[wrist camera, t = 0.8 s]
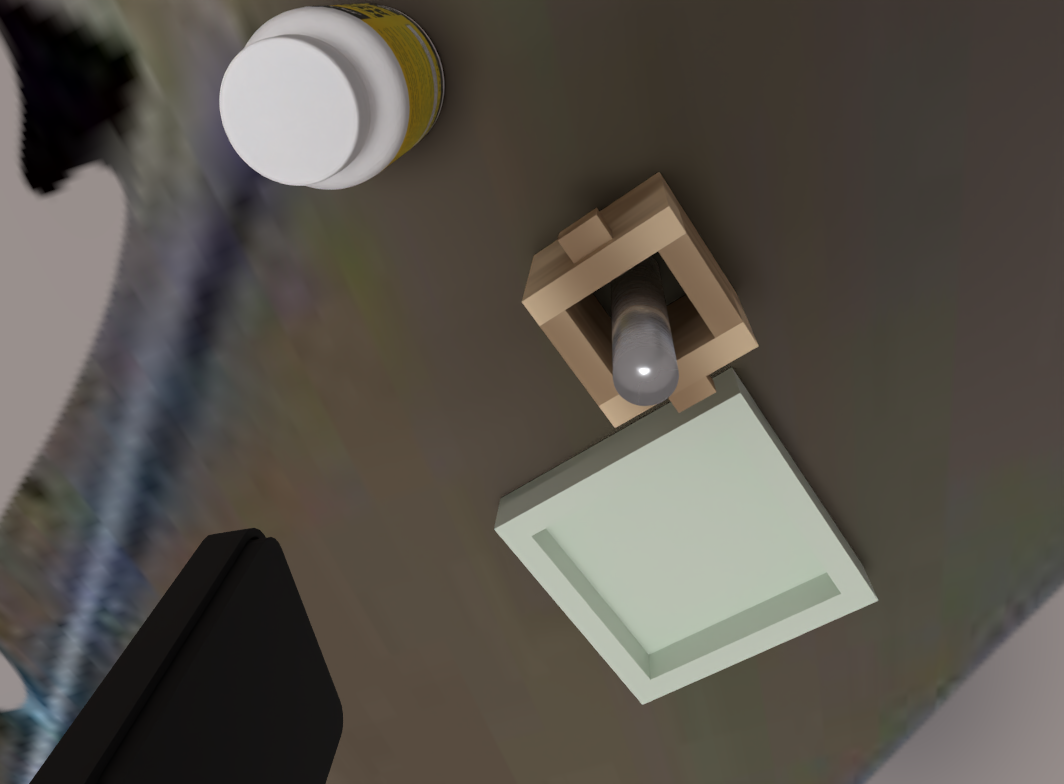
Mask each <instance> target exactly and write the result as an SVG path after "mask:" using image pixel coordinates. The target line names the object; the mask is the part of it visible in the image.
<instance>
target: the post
mask: <svg viewBox="0 0 1064 784" xmlns="http://www.w3.org/2000/svg"><path fill="white" fill-rule="evenodd" d="M611 311H612V363H613V383H614V386H615V389H616V390H617V392H618V394H619V395H620V396H621V397H622V398H623V399H625V400H626V401H628V402H630V403H632V404H635V405H639V406H651V405H656V404H658V403H661V402H663V401H664V400H666V399H667V398H668V397H670V396H671V394H672V393H673V392H674V391H675V389H676V387H677V384H678V380H679V371H678V365H677V360H676V355H675V349H674V344H673V339H672V334H671V328H670V323H669V318H668V312H667V307H666V302H665V297H664V291H663V286H662V281H661V275H660V270H659V266H658V264H657V262H656V261H655V259H654V258H653V257H652V256H650V257H648V258H646V259H645V260H643V261H642V262H640V263H638V264H637V265H635V266H634V267H632V268H631V269H629V270H627V271H626V272H624V273H623V274H621V275H620V276H618V277H616V278H615V279H613V280H612V281H611Z"/></svg>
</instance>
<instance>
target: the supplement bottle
mask: <svg viewBox="0 0 1064 784" xmlns="http://www.w3.org/2000/svg"><path fill="white" fill-rule="evenodd" d="M443 97H444V74H443V68H442V64H441V61H440V58H439V55H438V53H437V51H436V49H435V47H434V45H433V43H432V41H431V40H430V38H429V37H428V35H427V34H426V33H425V32H424V30H423V29H422V28H421V27H420V26H419V25H418V24H417V23H416V22H415V21H414V20H412V19H411V18H410V17H408V16H407V15H405V14H403V13H402V12H400V11H398V10H395V9H393V8H390V7H387V6H383V5H378V4H371V3H358V4H346V5H330V6H306V7H303V8H297V9H293V10H289V11H286V12H283V13H281V14H279V15H277V16H275V17H273V18H272V19H270V20H268V21H267V22H266V23H265V24H263V25H262V26H261V27H260V28H259V29H258V30H257V31H256V32H255V33H254V34H253V36H252V37H251V38H250V40H249V41H248V43H247V44H246V46H245V48H244V49H243V50H242V51H241V52H240V53H239V54H238V55H237V56H236V57H235V58H234V59H233V60H232V62H231V63H230V65H229V67H228V68H227V70H226V72H225V74H224V77H223V80H222V84H221V89H220V100H219V104H220V113H221V119H222V124H223V126H224V129H225V132H226V134H227V136H228V138H229V141H230V143H231V144H232V146H233V148H234V149H235V150H236V152H237V153H238V155H239V156H240V157H241V158H242V159H243V160H244V161H245V162H246V163H247V164H248V165H249V166H250V167H252V168H253V169H254V170H255V171H257V172H258V173H260V174H261V175H263V176H264V177H266V178H269V179H271V180H273V181H276V182H279V183H282V184H287V185H295V186H304V185H305V186H308V187H312V188H317V189H329V190H333V189H344V188H348V187H352V186H355V185H358V184H361V183H363V182H365V181H367V180H369V179H370V178H372V177H374V176H375V175H377V174H378V173H380V172H381V171H383V170H384V169H385V168H386V167H387V166H389V165H390V164H391V163H393V162H394V161H395V160H397V159H398V158H399V157H400V156H402V155H403V154H404V153H406V152H407V151H408V150H410V149H411V148H412V147H413V146H415V145H416V144H417V143H418V142H420V141H421V140H422V139H423V138H424V137H425V136H426V134H427V133H428V132H429V131H430V129H431V128H432V127H433V125H434V123H435V122H436V120H437V118H438V116H439V113H440V110H441V107H442V103H443Z"/></svg>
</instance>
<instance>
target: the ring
mask: <svg viewBox="0 0 1064 784" xmlns="http://www.w3.org/2000/svg"><path fill="white" fill-rule="evenodd" d="M657 251H658V252H659V253H660V255H661V256H662V258H663V259H664V261H665V262H666V264H667V265H668V267H669V268H670V270H671V271H672V273H673V275H674V276H675V278H676V279H677V281H678V282H679V284H680V285H681V287H682V288H683V290H684V291H685V293H686V295H684V296H683V297H681V298H680V299H678V300H676V301H675V302H673V303H671V304H670V305H668V306H666V307H667V312H668V318H669V323H670V328H671V334H672V339H673V344H674V349H675V355H676V360H677V365H678V371H679V380H678V384H677V387H676V389H675V391H674V392H673V393H672V394H671V396H670V397H668V398H669V400H670V401H671V403H672V404H673V406H674V407H675V408H676V410H677V411H678V413H680V412H682V411H684V410H686V409H687V408H689V407H691V406H693V405H694V404H696V403H698V402H700V401H702V400H703V399H705V398H707V397H709V396H711V395H712V394H714V393H716V389H715V385H714V381H713V379H712V378H711V376H710V375H709V374H711V373H713V372H714V371H716V370H718V369H720V368H721V367H723V366H725V365H727V364H728V363H730V362H732V361H734V360H735V359H737V358H739V357H741V356H742V355H744V354H746V353H748V352H749V351H751V350H753V349H755V348H756V347H758V346H759V345H758V343H757V341H756V338H755V336H754V334H753V331H752V329H751V327H750V324H749V322H748V319H747V317H746V315H745V312H744V310H743V308H742V305H741V303H740V301H739V298H738V296H737V293H736V292H735V290H734V289H733V287H732V286H731V284H730V282H729V281H728V279H727V278H726V276H725V274H724V273H723V271H722V270H721V268H720V267H719V265H718V263H717V262H716V260H715V259H714V257H713V256H712V254H711V252H710V251H709V249H708V248H707V246H706V245H705V243H704V241H703V240H702V238H701V237H700V235H699V234H698V232H697V230H696V229H695V227H694V226H693V224H692V222H691V221H690V219H689V218H688V216H687V215H686V213H685V211H684V210H683V208H682V207H681V205H680V204H679V202H678V200H677V199H676V197H675V196H674V194H673V193H672V191H671V189H670V188H669V186H668V185H667V183H666V182H665V180H664V178H663V177H662V175H661V174H660V172H658V173H656V174H655V175H653V176H652V177H650V178H649V179H647V180H646V181H644V182H643V183H641V184H640V185H638V186H637V187H635V188H634V189H632V190H631V191H629V192H628V193H626V194H625V195H624V196H622V197H621V198H619V199H618V200H616V201H615V202H613V203H612V204H610V205H609V206H607V207H606V208H604V209H603V210H601V211H600V212H599V210H598V209H597V208H595V209H594V210H592V211H591V212H589V213H588V214H586V215H585V216H583V217H582V218H580V219H579V220H577V221H576V222H575V223H573V224H572V225H570V226H569V227H567V228H566V229H564V230H563V231H561V232H560V233H559V236H558V240H556V241H555V242H553V243H552V244H550V245H549V246H547V247H546V248H544V249H543V250H541V251H540V252H538V253H537V254H535V255H534V257H533V261H532V264H531V268H530V272H529V276H528V280H527V283H526V287H525V291H524V295H523V299H522V303H523V304H524V306H525V307H526V308H527V310H528V311H529V312H530V314H531V315H532V317H533V318H534V319H535V321H536V322H537V323H538V325H539V326H540V327H541V329H542V330H543V331H544V333H545V334H546V335H547V337H548V338H549V340H550V341H551V342H552V344H553V345H554V346H555V348H556V349H557V350H558V352H559V353H560V354H561V356H562V357H563V358H564V360H565V361H566V362H567V364H568V365H569V367H570V368H571V369H572V371H573V372H574V373H575V375H576V376H577V377H578V379H579V380H580V381H581V383H582V384H583V385H584V387H585V388H586V389H587V391H588V392H589V394H590V395H591V396H592V398H593V399H594V400H595V402H596V403H597V404H598V406H599V407H600V408H601V410H602V411H603V412H604V414H605V415H606V417H607V418H608V419H609V421H610V422H611V423H612V425H613V426H614V427H615V428H616V427H618V426H619V425H621V424H623V423H625V422H626V421H628V420H630V419H632V418H634V417H635V416H637V415H639V414H641V413H642V412H644V411H646V410H648V409H649V408H651V407H653V406H655V405H651V406H639V405H635V404H632V403H630V402H628V401H626V400H625V399H623V398H622V397H621V396H620V395H619V394H618V392H617V390H616V389H615V386H614V383H613V363H612V320H611V319H610V317H609V316H608V314H607V313H606V312H605V310H604V309H603V307H602V306H601V304H600V303H599V302H598V300H597V299H596V297H595V296H594V294H593V292H594V291H596V290H598V289H599V288H601V287H602V286H604V285H605V284H607V283H609V282H610V281H612V280H613V279H615V278H616V277H618V276H620V275H621V274H623V273H624V272H626V271H627V270H629V269H631V268H632V267H634V266H635V265H637V264H638V263H640V262H642V261H643V260H645V259H646V258H648V257H650V256H651V255H653V254H654V253H656V252H657Z"/></svg>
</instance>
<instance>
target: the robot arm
mask: <svg viewBox="0 0 1064 784" xmlns="http://www.w3.org/2000/svg"><path fill="white" fill-rule="evenodd" d="M342 728H343V712H342V706H341V702H340V699H339V697H338V694H337V691H336V689H335V686H334V684H333V681H332V678H331V676H330V673H329V671H328V668H327V665H326V663H325V660H324V658H323V655H322V652H321V650H320V647H319V645H318V642H317V639H316V637H315V634H314V632H313V629H312V626H311V624H310V621H309V619H308V616H307V613H306V611H305V608H304V606H303V603H302V600H301V598H300V595H299V593H298V590H297V587H296V585H295V582H294V579H293V577H292V574H291V572H290V569H289V566H288V564H287V561H286V559H285V556H284V553H283V551H282V548H281V546H280V544H279V542H278V541H277V540H276V539H275V538H272V537H269V538H266V537H265V535H264V534H263V533H262V532H261V531H260V530H258V529H256V528H250V529H244V530H237V531H231V532H224V533H218V534H212V535H208V536H207V537H206V538H205V539H204V540H203V541H202V543H201V544H200V546H199V547H198V548H197V550H196V551H195V553H194V554H193V555H192V557H191V558H190V560H189V561H188V562H187V564H186V565H185V567H184V568H183V569H182V571H181V572H180V574H179V575H178V576H177V578H176V579H175V581H174V582H173V583H172V585H171V586H170V588H169V589H168V590H167V592H166V593H165V595H164V596H163V597H162V599H161V600H160V602H159V603H158V604H157V606H156V607H155V609H154V610H153V611H152V613H151V614H150V616H149V617H148V618H147V620H146V621H145V623H144V624H143V625H142V627H141V628H140V630H139V631H138V632H137V634H136V635H135V636H134V638H133V639H132V641H131V642H130V643H129V645H128V646H127V648H126V649H125V650H124V652H123V653H122V655H121V656H120V657H119V659H118V660H117V662H116V663H115V664H114V666H113V667H112V669H111V670H110V671H109V673H108V674H107V676H106V677H105V678H104V680H103V681H102V683H101V684H100V685H99V687H98V688H97V690H96V691H95V692H94V694H93V695H92V697H91V698H90V699H89V701H88V702H87V704H86V705H85V706H84V708H83V709H82V711H81V712H80V713H79V715H78V716H77V718H76V719H75V720H74V722H73V723H72V725H71V726H70V727H69V729H68V730H67V732H66V733H65V734H64V736H63V737H62V739H61V740H60V741H59V743H58V744H57V746H56V747H55V748H54V750H53V751H52V753H51V754H50V755H49V757H48V758H47V760H46V761H45V762H44V764H43V765H42V767H41V768H40V769H39V771H38V772H37V774H36V775H35V776H34V778H33V779H32V781H31V782H30V783H29V784H325V783H326V780H327V777H328V774H329V771H330V768H331V765H332V762H333V759H334V756H335V753H336V750H337V746H338V743H339V740H340V737H341V733H342Z"/></svg>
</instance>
